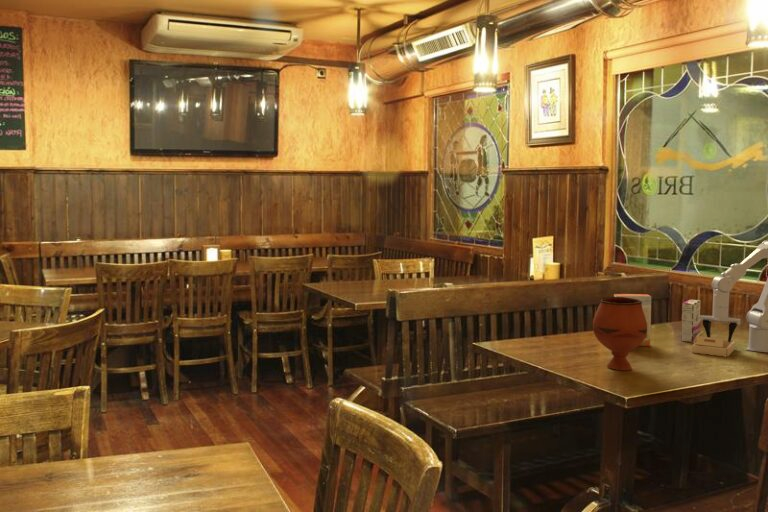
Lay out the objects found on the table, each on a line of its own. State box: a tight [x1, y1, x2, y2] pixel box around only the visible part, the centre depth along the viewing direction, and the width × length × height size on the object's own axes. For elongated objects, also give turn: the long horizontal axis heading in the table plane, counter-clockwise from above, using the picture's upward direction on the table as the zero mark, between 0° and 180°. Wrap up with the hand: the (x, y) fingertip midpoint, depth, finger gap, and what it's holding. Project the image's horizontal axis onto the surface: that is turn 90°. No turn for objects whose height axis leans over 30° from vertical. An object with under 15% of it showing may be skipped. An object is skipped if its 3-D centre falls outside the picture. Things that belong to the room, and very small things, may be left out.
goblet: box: [592, 296, 647, 371], centre depth 277 cm, size 19×19×25 cm
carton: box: [691, 339, 736, 358], centre depth 304 cm, size 13×17×3 cm
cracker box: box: [613, 293, 652, 347], centre depth 314 cm, size 14×6×21 cm, turn 84°
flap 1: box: [692, 329, 705, 344], centre depth 307 cm, size 3×13×1 cm
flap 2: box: [695, 335, 725, 347], centre depth 298 cm, size 3×10×1 cm
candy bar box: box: [680, 299, 702, 343], centre depth 324 cm, size 11×5×16 cm, turn 143°
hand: (719, 340), depth 304 cm, fingers open, 7 cm apart
